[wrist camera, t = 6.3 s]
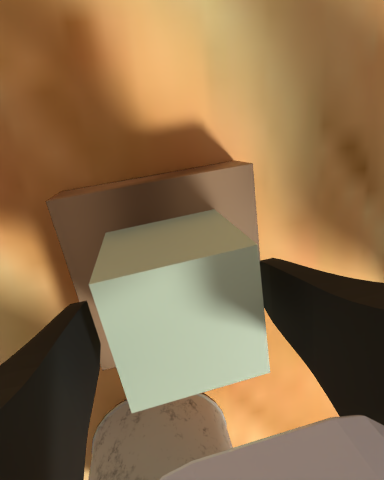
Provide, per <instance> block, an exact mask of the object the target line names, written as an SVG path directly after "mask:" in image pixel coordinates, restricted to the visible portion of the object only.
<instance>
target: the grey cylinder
mask: <svg viewBox="0 0 384 480" xmlns="http://www.w3.org/2000/svg"><path fill="white" fill-rule="evenodd" d="M232 448H233V447H232V444H231V441H230V438H229V434H228V431H227V427H226V421H225V418H224V415H223V412H222V410H221V409H220V408H219V406H218V405H217V404H216V402H214V401H213V400H212V399H210V398H209V397H208V396H206V395H204V394H202V393H199V394H196V395H192V396H189V397H186V398H182V399H179V400H175V401H172V402H169V403H165V404H162V405H159V406H155V407H152V408H148V409H145V410H142V411H138V412H135V413H131V410H130V407H129V404H128V401H127V400H125V401H123V402H122V403H120V404H118V405H117V406H116V407H115V408H114V409H112V410H111V411H110V412H109V413H108V414H107V415H106V416H105V417H104V419H103V420H102V422H101V423H100V424H99V426H98V427H97V430H96V432H95V435H94V437H93V442H92V459H91V466H90V473H89V480H160V479H161V477H162V476H164V475H166V474H168V473H169V472H171V471H173V470H175V469H177V468H179V467H181V466H183V465H185V464H187V463H189V462H191V461H193V460H196V459H200V458H203V457H206V456H209V455H212V454H216V453H219V452H222V451H225V450H228V449H232Z"/></svg>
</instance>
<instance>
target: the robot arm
mask: <svg viewBox="0 0 384 480" xmlns="http://www.w3.org/2000/svg"><path fill="white" fill-rule="evenodd" d="M259 262H260V273H261V283H262V294H263V304H264V308H265V310H266V311H267V313H268V315H269V317H270V318H271V320H272V322H273V323H274V324H275V326H276V327H277V328H278V330H279V331H280V332H281V333H282V335H283V336H284V337H285V339H286V340H287V341H288V342H289V344H290V345H291V346H292V347H293V349H294V350H295V351H296V352H297V354H298V355H299V356H300V357H301V359H302V360H303V361H304V362H305V364H306V365H307V366H308V368H309V369H310V370H311V372H312V373H313V374H314V376H315V378H316V379H317V381H318V382H319V384H320V385H321V387H322V389H323V390H324V392H325V393H326V395H327V396H328V398H329V400H330V401H331V403H332V404H333V406H334V408H335V409H336V411H337V413H338V414H339V416H340V417H332V418H328V419H325V420H321V421H318V422H315V423H312V424H309V425H305V426H302V427H299V428H296V429H293V430H289V431H286V432H283V433H280V434H277V435H273V436H270V437H267V438H264V439H260V440H257V441H254V442H251V443H248V444H244V445H241V446H238V447H235V448H232V449H228V450H225V451H222V452H219V453H216V454H212V455H209V456H206V457H203V458H200V459H196V460H193V461H191V462H189V463H187V464H185V465H183V466H181V467H179V468H177V469H175V470H173V471H171V472H169V473H168V474H166V475H164V476H162V477H161V479H160V480H384V283H379V282H371V281H365V280H359V279H354V278H348V277H344V276H339V275H335V274H331V273H327V272H323V271H319V270H315V269H312V268H308V267H305V266H302V265H298V264H295V263H291V262H288V261H284V260H280V259H276V258H271V259H266V260H262V261H259ZM100 354H101V343H100V340H99V337H98V333H97V330H96V327H95V324H94V321H93V318H92V315H91V312H90V309H89V306H88V303H87V300H86V301H82V302H78V303H73V304H70V305H69V306H67V307H66V308H65V309H64V310H63V311H62V312H61V313H59V314H58V315H57V316H56V317H55V318H54V319H53V320H52V321H51V322H50V323H49V324H48V325H47V326H46V327H45V328H44V329H42V330H41V331H40V332H39V333H38V334H37V335H36V336H35V337H34V338H33V339H31V340H30V341H29V342H28V343H27V344H26V345H25V346H23V347H22V348H21V349H20V350H19V351H18V352H16V353H15V354H14V355H13V356H12V357H10V358H9V359H8V360H7V361H5V362H4V363H3V364H2V365H0V480H83V478H84V466H85V454H86V443H87V435H88V428H89V422H90V417H91V412H92V407H93V401H94V396H95V391H96V386H97V380H98V375H99V369H100Z"/></svg>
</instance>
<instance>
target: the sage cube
mask: <svg viewBox="0 0 384 480" xmlns="http://www.w3.org/2000/svg"><path fill="white" fill-rule="evenodd" d="M89 287H90V290H91V293H92V296H93V299H94V302H95V305H96V308H97V311H98V314H99V317H100V320H101V323H102V326H103V329H104V332H105V335H106V338H107V341H108V344H109V347H110V350H111V353H112V356H113V359H114V362H115V365H116V368H117V371H118V374H119V377H120V380H121V383H122V386H123V389H124V392H125V395H126V398H127V401H128V404H129V407H130V410H131V413H135V412H138V411H142V410H145V409H148V408H152V407H155V406H159V405H162V404H165V403H169V402H172V401H175V400H179V399H182V398H186V397H189V396H192V395H196V394H199V393H203V392H206V391H209V390H213V389H216V388H220V387H223V386H226V385H230V384H233V383H236V382H240V381H243V380H247V379H250V378H253V377H257V376H260V375H264V374H267V373H270V366H269V356H268V345H267V335H266V325H265V314H264V304H263V294H262V283H261V273H260V262H259V252H258V244H256V243H255V242H254V241H253V240H252V239H250V238H249V237H248V236H247V235H245V234H244V233H243V232H242V231H240V230H239V229H238V228H237V227H236V226H234V225H233V224H232V223H231V222H229V221H228V220H227V219H226V218H225V217H223V216H222V215H221V214H220V213H218V212H217V211H216V210H215V209H213V210H208V211H204V212H199V213H195V214H190V215H185V216H181V217H176V218H171V219H167V220H162V221H158V222H153V223H148V224H144V225H139V226H134V227H130V228H125V229H121V230H116V231H111V232H107V233H105V236H104V239H103V242H102V245H101V248H100V251H99V255H98V258H97V261H96V264H95V267H94V270H93V273H92V276H91V279H90V282H89Z"/></svg>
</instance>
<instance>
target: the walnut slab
mask: <svg viewBox="0 0 384 480" xmlns="http://www.w3.org/2000/svg"><path fill="white" fill-rule="evenodd" d="M46 204H47V207H48V210H49V213H50V215H51V218H52V221H53V224H54V227H55V230H56V233H57V236H58V239H59V242H60V245H61V248H62V251H63V254H64V257H65V260H66V263H67V266H68V269H69V272H70V275H71V278H72V281H73V284H74V287H75V290H76V293H77V296H78V299H79V302H82V301H86V300H87V303H88V306H89V309H90V312H91V315H92V318H93V321H94V324H95V327H96V330H97V333H98V337H99V340H100V343H101V354H100V365H101V368H102V371H103V370H107V369H110V368H114V367H116V365H115V362H114V359H113V356H112V353H111V350H110V347H109V344H108V341H107V338H106V335H105V332H104V329H103V326H102V323H101V320H100V317H99V314H98V311H97V308H96V305H95V302H94V299H93V296H92V293H91V290H90V287H89V282H90V279H91V276H92V273H93V270H94V267H95V264H96V261H97V258H98V255H99V251H100V248H101V245H102V242H103V239H104V236H105V233H107V232H111V231H116V230H121V229H125V228H130V227H134V226H139V225H144V224H148V223H153V222H158V221H162V220H167V219H171V218H176V217H181V216H185V215H190V214H195V213H199V212H204V211H208V210H213V209H215V210H216V211H217V212H218V213H220V214H221V215H222V216H223V217H225V218H226V219H227V220H228V221H229V222H231V223H232V224H233V225H234V226H236V227H237V228H238V229H239V230H240V231H242V232H243V233H244V234H245V235H247V236H248V237H249V238H250V239H252V240H253V241H254V242H255V243H256V244H258V252H259V261H260V251H259V238H258V225H257V212H256V200H255V187H254V174H253V164H252V163H246V162H240V161H230V162H224V163H218V164H213V165H207V166H202V167H196V168H190V169H185V170H179V171H174V172H168V173H163V174H157V175H151V176H146V177H140V178H135V179H129V180H123V181H118V182H112V183H107V184H101V185H96V186H90V187H84V188H79V189H73V190H68V191H62V192H59V193H58V194H56V195H55V196H53V197H52V198H50V199H48V200H47V201H46Z"/></svg>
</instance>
